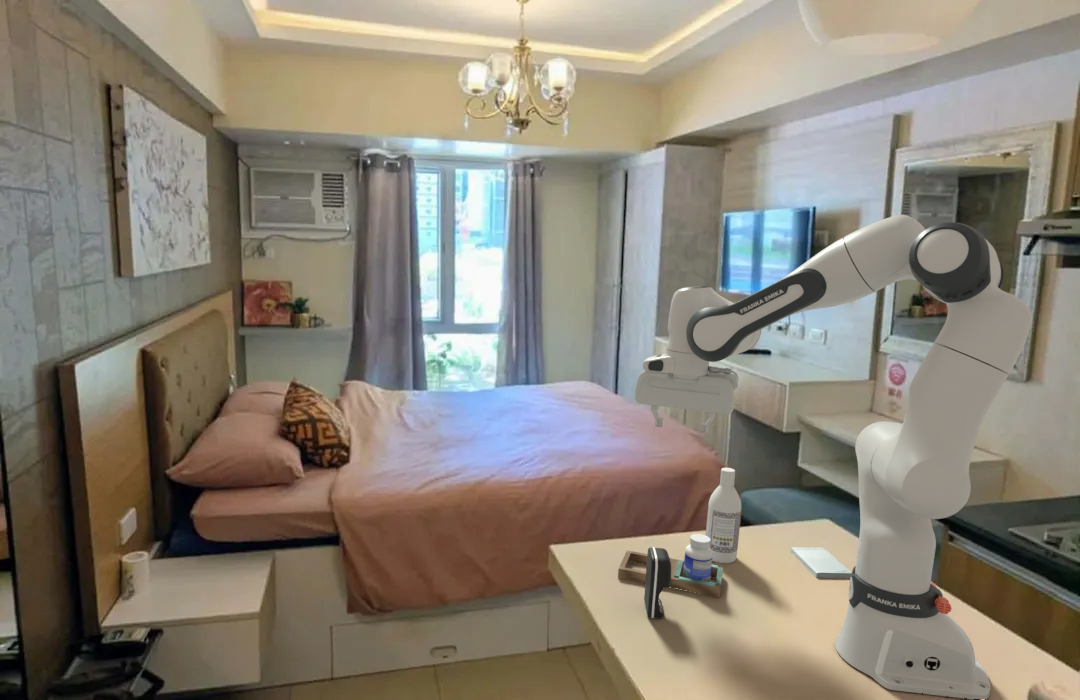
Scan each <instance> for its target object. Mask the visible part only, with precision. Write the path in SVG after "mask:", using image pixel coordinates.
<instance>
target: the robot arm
mask: <svg viewBox="0 0 1080 700" xmlns="http://www.w3.org/2000/svg"><path fill="white" fill-rule="evenodd" d="M1004 275H1005V273H1004V268H1003V264H1002V263H1001V261H1000V259H999V257H998V254H997V251H996V249H995V247H993V245H992V244H991V243H990V242H989V241H988V239H986V238H985V237H984V235H982V233H981V232H980V231H978V230H977V228H973V227H972V226H970V225H967V224H964V223H961V222H955V221H954V222H952V221H949V222H948V221H947V222H941V223H937V224H934V225H932V226H929V227H928V228H926V229H925V227H924V226H923V225H922V224H921V222H920V221H918V220H917V219H915V218H913V217H911V216H910V215H906V214H896V215H892V216H890V217H886V218H884V219H881V220H878V221H875V222H872V223H870V224H868V225H865V226H863V227H861V228H858V229H857V230H855V231H853V232H851V233H849V234H847V235H845V236H842V237H841V238H839V239H837V240H835V242H833V243H831V244H830V245H828V246H827V247H825V248H823V249H822V250H821V251H819V252H818V253H816V254H815V255H813V256H812V257H811V258H809V259H808V260H807V261H805V262H804V263H803V264H801V265H799V266H798V267H797V268H795V269H794V270H793V271H791V272H790V273H788V274H787V275H785V276H784V277H783V278H781V279H780V280H778V281H775V282H774V283H772V284H770V285H768V286H766V287H764V288H762V289H760V290H758V291H756V292H754V293H752V294H750V295H748V296H747V297H744V298H742V299H741V300H739V301H736V302H732V301H730V300H728V299H727V298H725V297H723V296H721V294H719V293H717V292H716V291H715V289H714V288H713V287H711V286H709V285H698V286H697V285H696V286H695V285H694V286H685V287H682V288H679V289H677V290H676V291H675V292H674V294H673V296H672V298H671V301H670V308H669V313H668V321H667V322H668V323H667V330H668V342H667V343H666V344H667V345H666V349H665V353H662V354H661V353H660V354H656V355H652V356H649V357H647V358H646V359H644V361H643V362H642V370H643V371H641V373H640V374H639V376H638V377H637V381H636V385H635V391H634V400H635V402H636V403H637V404H638V405H646V406H650V412H651V413H652V416H653V418H654V419H655V421H654V427H657V428H663V426H664V417H662V416H660V415H659V412H658V410H659V409H660V407H664V408H671V409H680V410H686V411H688V410H689V411H697V412H705V413H706V412H707V417H708V419H707V420H706V422H701V424H700V433H704V434H708V433H709V428H710V425H711V424H712V422H713V421H714V420H715V418H716V414H722V415H730V414H731V413H733V411H734V410H735V409H734V408H735V390H736V389H737V388H738V385H739V376H738V373H736V372H735V371H734V370H732V369H731V368H728V367H724V368H723V367H718V366H710V362H711V363H715V362H720V361H723V360H724V359H727V358H728V357H732V356H736V355H738V354H741V353H744V352H746V351H748V350H750V349H752V348H754V346H755V345H756V344H757V343H758V342H759V340H760V338H761V335H762V330H763V329H765V328H767V327H769V326H771V325H773V324H775V323H777V322H779V321H780V320H783V319H785V318H788V317H790V316H792V315H795V314H799V313H802V312H807V311H811V310H819V309H823V308H832V307H837V306H840V305H844V304H848V303H851V302H854V301H857V300H860V299H863V298H866V297H868V296H869V295H873V294H874V293H876V292H878V291H880V290H882V289H884V288H886V287H888V286H890V285H892V284H895V283H897V282H899V281H900V282H901V281H904V280H912V281H913V280H914V281H917V282H918V283H919V284H920V285H921V286H922V288H923V289H924V291H925V292H927V294H928V295H930V297H933V299H936V300H937V301H939V303H942V304H943V305H945V306H946V308H947V315H946V319H945V322H944V324H943V325H942V328H941V330H940V332H939V333H938V335H937V337H936V339H935V340H934V342H933V344H932V345H931V346H930V349H929V351H927V354H926V355H925V358H924V359H923V361H922V363H921V364H920V366H919V368H918V369H917V371H916V374H914V377H913V379H912V380H911V382H910V384H909V386H908V387H909V388H908V403H907V408H906V412H905V415H904V418H903V422H902V423H900V422H895V421H885V420H884V421H883V420H882V421H876V422H873V423H871V424H869V425H867V426H866V427H865V428H863V429H862V430H861V432H859V434H858V436H857V438H856V441H855V446H854V448H855V450H854V451H855V456H856V460H857V469H858V470H857V471H858V474H857V475H858V496H859V497H858V498H859V500H858V501H859V513H860V514H859V515H860V516H859V517H860V519H859V520H860V521H859V523H860V524H859V526H860V527H859V535H858V536H859V538H858V544H857V545H858V546H857V552H856V553H857V554H856V561H855V566H854V567H853V568H852V570H851V572H852V576H851V578H849V579H850V580H849V587H848V595H847V596H848V597H847V598H848V601H849V604H848V608H847V612H846V615H845V618H844V620H843V624H842V626H841V628H840V631H839V634H838V635H837V637H836V639H835V641H834V647H835V648H836V649H835V650H836V651H837V653H838V654H839V656H840V657H841V658H842V659H843V660H844V661H845V662H846V663H848V664H849V665H851V666H852V667H853V668H855V669H857V670H858V671H859V672H861V673H864V674H866V675H868V676H869V677H871V678H873V680H875V681H876V683H878V684H879V685H881V686H882V687H883V688H884V689H885V688H886V689H888V690H889V691H890V690H891V691H898V692H905V693H906V692H907V693H915V694H922V693H923V694H924V695H932V696H940V697H947V696H948V698H949V697H950V698H957V699H964V698H967V699H966V700H973V699H986V700H987V699H989V697H990V695H991V683H990V678H989V676H988V675H987V672H986V671H985V669H984V667H983V666H982V664H981V663H980V662H979V661H978V660H977V659H976V653H975V650H974V646H973V643H972V642H971V639H970V638H969V636H968V634H967V633H966V631H965V630H964V629H963V628H962V627H961V626H960V625H959V624H958V623H957V622H956V621H954V620H953V618H951V617H950V616H949V613H950V612H951V611H952V610H953V609H952V605H951V604H950V602H949V600H948V599H947V598H946V597H943V596H944V595H943V592H942V591H941V590H940V589H939V588H937V586H936V584H935V583H934V582H933V581H932V575H933V567H934V561H935V560H934V559H935V553H936V547H937V541H936V540H937V539H936V534H935V531H934V529H933V524H932V520H940V519H945V518H946V519H947V518H949V517H952V516H954V515H955V514H957V513H958V512H959V511H961V510H962V509H963V508H964V507H965V505H966V503H968V500H969V498H970V496H971V489H972V487H971V486H972V485H971V478H970V465H971V459H972V456H973V452H974V448H975V444H976V441H977V437H978V434H979V431H980V428H981V426H982V423H983V420H984V418H985V416H986V415H987V413H988V411H989V409H990V408H991V406H992V404H993V402H994V401H995V399H996V398H997V396H998V393H999V392H1000V390H1001V389H1002V387H1003V385H1004V384H1005V382H1006V380H1007V379H1008V377H1009V375H1010V373H1011V371H1012V370H1013V368H1014V366H1015V365H1016V362H1017V361H1018V359H1019V357H1020V355H1021V353H1022V351H1023V348H1024V346H1025V344H1026V342H1027V339H1028V336H1029V333H1030V329H1031V327H1032V324H1033V313H1032V310H1031V309H1030V307H1029V306H1028V305H1027V304H1026V302H1024V301H1023V300H1022V299H1021V298H1019V297H1017V296H1016V295H1015V294H1012V293H1009V292H1007V291H1004V290H1002V289H1001V288H1002V287H1003V282H1004V277H1005V276H1004Z"/></svg>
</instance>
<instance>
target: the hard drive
mask: <svg viewBox="0 0 1080 700" xmlns="http://www.w3.org/2000/svg"><path fill="white" fill-rule="evenodd" d="M789 552H790V553H791V554H792V555H793V556H794V557H795V558H796V559H797V560H798V562H800V563H801V564H802V565H803V566H804V567H805V568H806V569H807V570H808V571H809V573H811V575H812V576H814V577H815V578H817V579H819V578H820V579H823V578H824V579H850V578H851V576H852V570H850V569H849V568H847V566H845V565H844V564H843V563H842V562H841V561H840V560H838V559H837V558H836V557H835V556H834V555H833V554H832V553H830V552H829V550H828V549H826V548H825V547H819V546H818V547H817V546H816V547H814V546H813V547H812V546H811V547H810V546H806V547H804V546H803V547H801V546H800V547H798V546H794V547H793V546H792V547H790V549H789Z"/></svg>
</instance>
